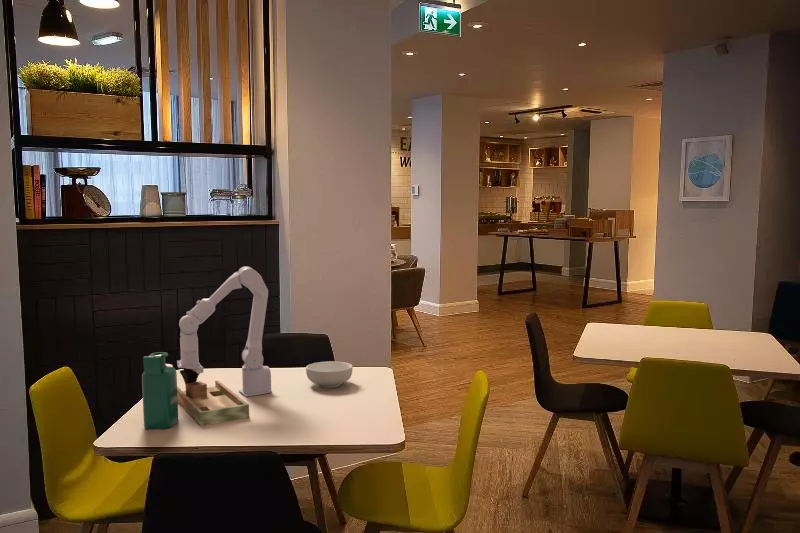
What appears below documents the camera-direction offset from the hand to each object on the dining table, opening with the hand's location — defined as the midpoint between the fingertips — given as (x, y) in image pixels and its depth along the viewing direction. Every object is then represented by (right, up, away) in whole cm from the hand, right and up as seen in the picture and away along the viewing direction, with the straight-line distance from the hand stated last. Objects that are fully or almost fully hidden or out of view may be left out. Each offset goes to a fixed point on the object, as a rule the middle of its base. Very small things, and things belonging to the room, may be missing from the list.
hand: (190, 390), depth 225 cm
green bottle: (-1, -6, -26) cm, 27 cm away
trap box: (+9, -4, -9) cm, 13 cm away
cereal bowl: (+45, -1, +17) cm, 48 cm away
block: (+3, -1, -3) cm, 4 cm away
